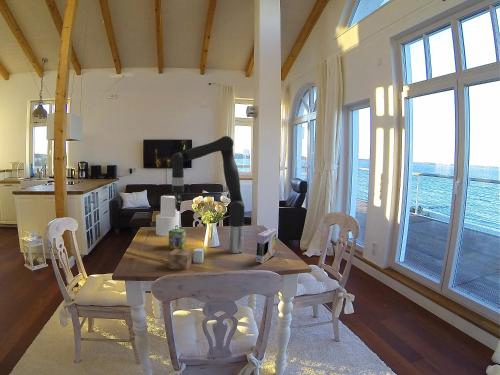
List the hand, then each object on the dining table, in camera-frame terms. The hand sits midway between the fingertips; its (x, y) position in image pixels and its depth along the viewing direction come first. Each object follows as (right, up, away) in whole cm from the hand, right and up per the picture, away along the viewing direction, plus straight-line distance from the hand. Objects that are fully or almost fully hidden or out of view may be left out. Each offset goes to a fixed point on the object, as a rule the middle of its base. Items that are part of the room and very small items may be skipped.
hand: (177, 209), depth 205 cm
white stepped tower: (-18, -21, +45) cm, 53 cm away
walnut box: (+7, -30, -25) cm, 39 cm away
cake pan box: (+55, -30, -7) cm, 63 cm away
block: (+16, -29, -15) cm, 37 cm away
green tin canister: (-3, -26, +10) cm, 28 cm away
